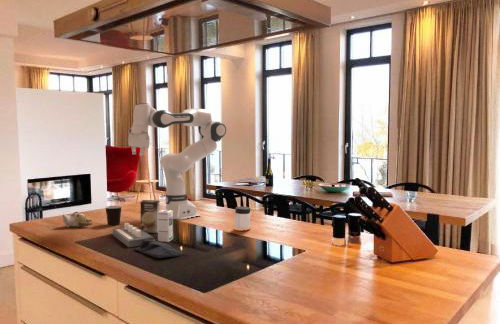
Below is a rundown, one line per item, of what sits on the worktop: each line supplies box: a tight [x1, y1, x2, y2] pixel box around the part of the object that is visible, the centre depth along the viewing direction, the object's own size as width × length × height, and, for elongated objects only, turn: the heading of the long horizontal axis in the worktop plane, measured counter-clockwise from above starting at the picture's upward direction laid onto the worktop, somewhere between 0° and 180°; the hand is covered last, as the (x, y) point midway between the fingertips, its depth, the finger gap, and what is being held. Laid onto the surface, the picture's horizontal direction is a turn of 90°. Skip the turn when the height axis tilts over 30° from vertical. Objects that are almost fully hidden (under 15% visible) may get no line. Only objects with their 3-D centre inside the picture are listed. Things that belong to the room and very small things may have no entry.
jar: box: [233, 206, 252, 229], centre depth 225 cm, size 9×8×12 cm
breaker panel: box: [111, 225, 155, 248], centre depth 202 cm, size 12×26×3 cm, turn 34°
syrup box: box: [157, 209, 174, 243], centre depth 201 cm, size 6×6×14 cm
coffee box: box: [139, 199, 160, 234], centre depth 218 cm, size 9×6×16 cm
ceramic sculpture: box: [62, 211, 93, 228], centre depth 226 cm, size 11×9×15 cm
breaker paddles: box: [123, 222, 141, 238], centre depth 202 cm, size 2×20×3 cm, turn 34°
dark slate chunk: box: [134, 239, 185, 259], centre depth 181 cm, size 15×22×5 cm
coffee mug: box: [105, 205, 123, 227], centre depth 234 cm, size 12×9×10 cm
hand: (137, 155), depth 236 cm, fingers open, 8 cm apart
